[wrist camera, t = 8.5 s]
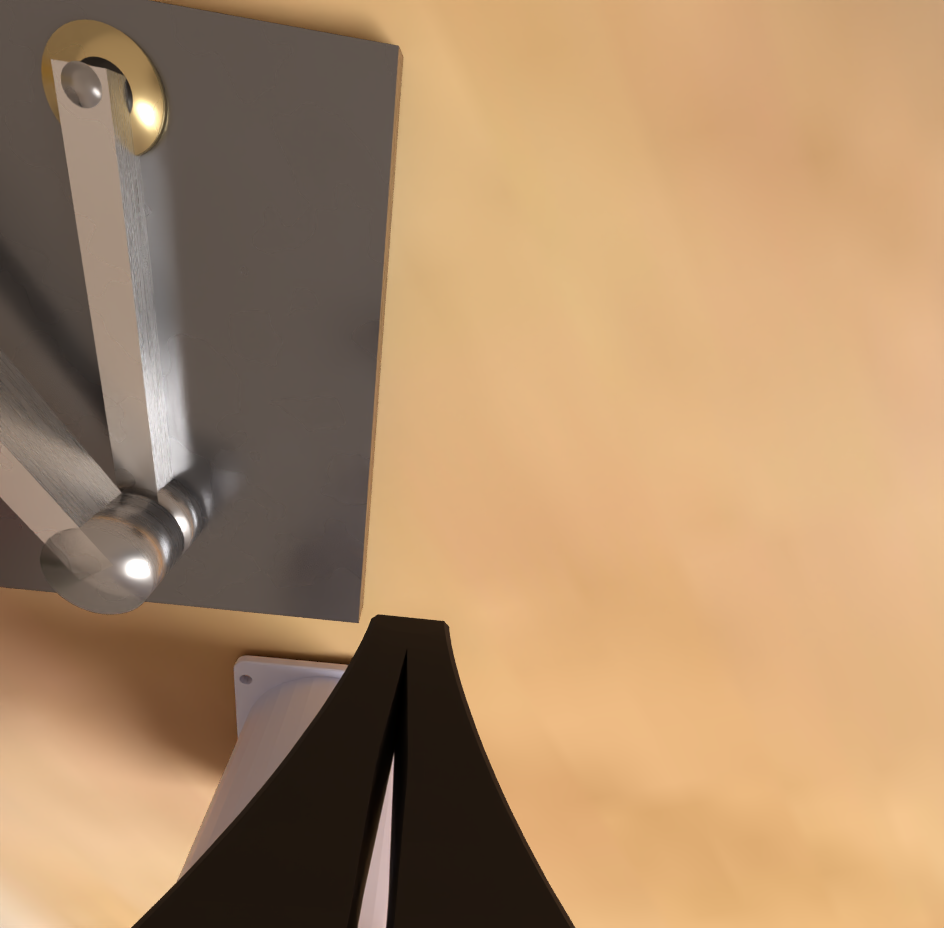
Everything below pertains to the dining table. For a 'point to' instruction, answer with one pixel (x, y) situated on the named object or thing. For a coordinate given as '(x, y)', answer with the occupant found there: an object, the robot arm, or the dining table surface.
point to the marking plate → (203, 281)
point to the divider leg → (79, 508)
